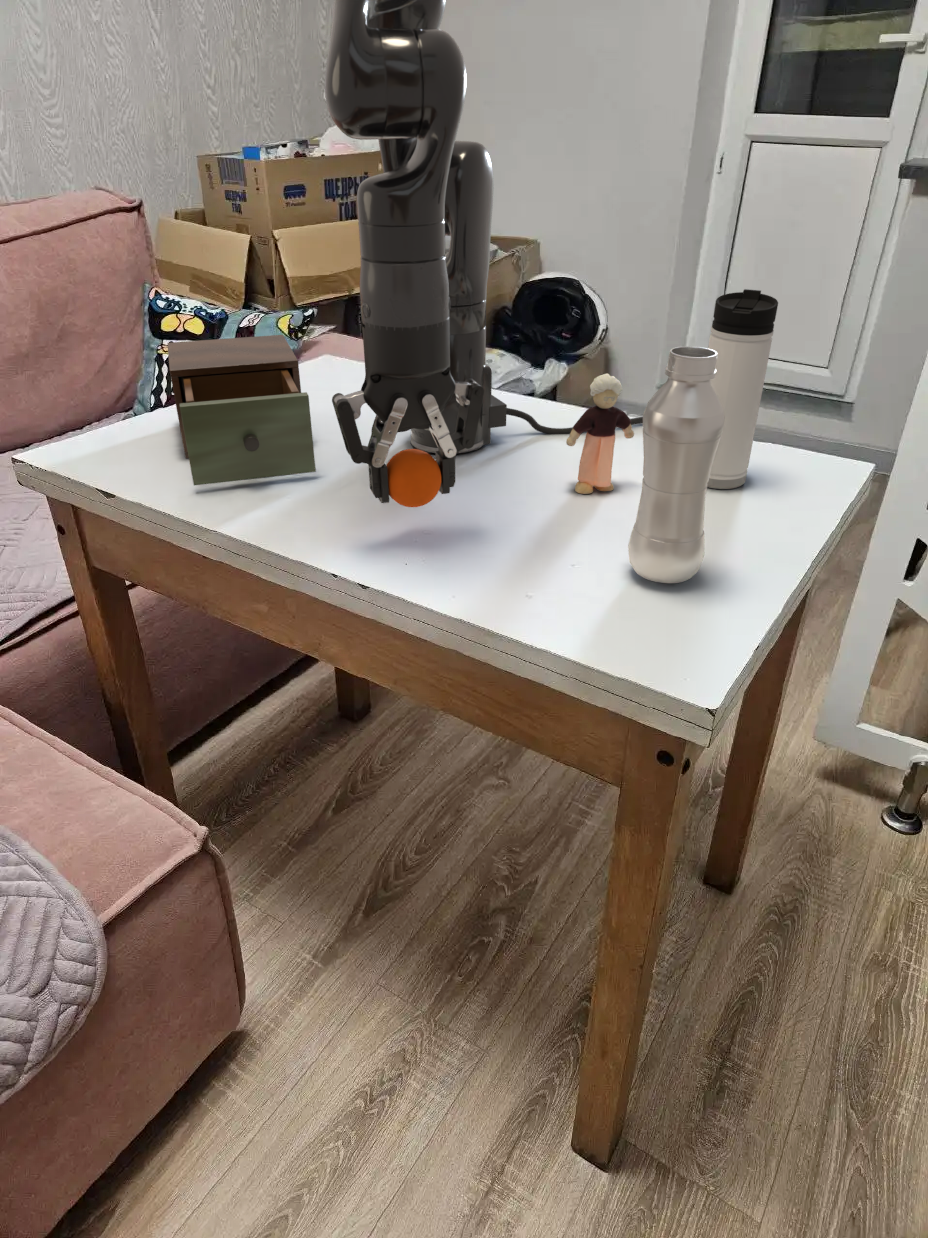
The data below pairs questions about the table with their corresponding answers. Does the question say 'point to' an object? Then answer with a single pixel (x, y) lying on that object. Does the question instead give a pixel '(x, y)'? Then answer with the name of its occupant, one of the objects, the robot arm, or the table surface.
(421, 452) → the ball
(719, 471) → the travel mug
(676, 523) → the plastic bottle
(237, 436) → the drawer
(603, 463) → the grandmother figurine
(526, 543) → the table surface
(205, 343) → the cabinet
